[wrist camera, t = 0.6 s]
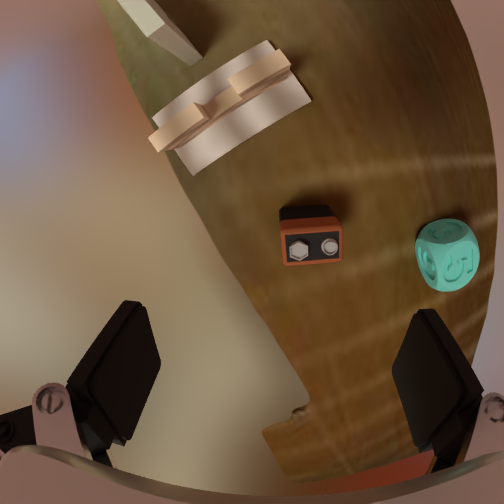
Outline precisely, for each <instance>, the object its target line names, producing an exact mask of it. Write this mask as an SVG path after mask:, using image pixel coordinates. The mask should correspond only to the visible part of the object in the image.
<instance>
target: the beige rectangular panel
mask: <svg viewBox="0 0 504 504" xmlns="http://www.w3.org/2000/svg"><path fill="white" fill-rule="evenodd" d="M117 1H118V2H119V3H120V4H121V6H122V7H123V8H124V9H125V11H126V12H127V13H128V14H129V15H130V17H131V18H132V19H133V20H134V22H135V23H136V24H137V25H138V27H139V28H140V29H141V30H142V32H143V33H144V34H145V35H146V37H147V38H149V39H151V40H152V41H154V42H155V43H157V44H158V45H160V46H161V47H163V48H165V49H166V50H168V51H169V52H171V53H172V54H173V55H175V56H176V57H178V58H179V59H181V60H182V61H184V62H185V63H186V64H188V65H189V66H192V65H194V64H195V63H196V62H198V61H199V60H201V59H202V58H203V57H202V56H201V55H200V53H199V52H198V51H197V50H196V48H195V47H194V46H193V45H192V44H191V42H190V41H189V40H188V39H187V37H186V36H185V35H184V34H183V33H182V31H181V30H180V29H179V28H178V27H177V26H176V25H174V24H173V23H172V22H171V21H170V20H169V18H168V17H167V16H166V15H167V14H166V13H165V12H164V11H163V9H162V8H161V7H160V6H159V5H158V4H157V3H156V2H155V1H154V0H117Z"/></svg>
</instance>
